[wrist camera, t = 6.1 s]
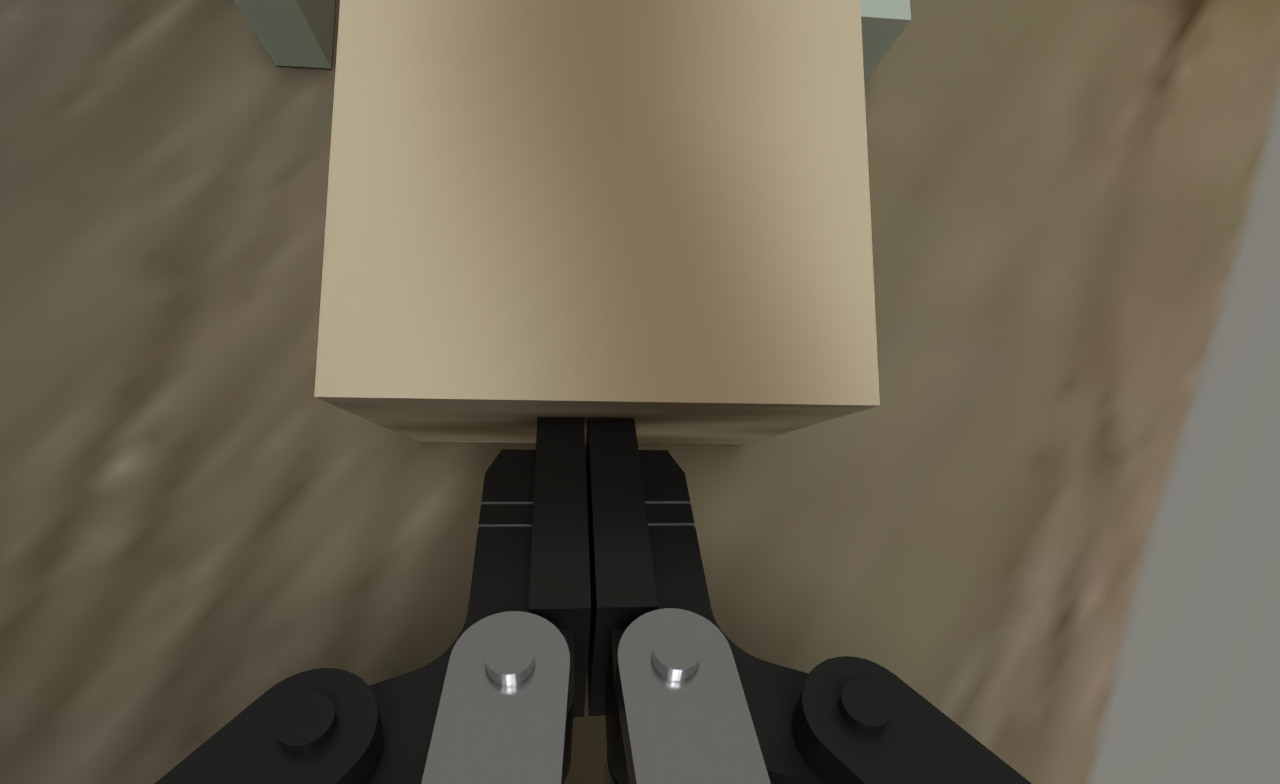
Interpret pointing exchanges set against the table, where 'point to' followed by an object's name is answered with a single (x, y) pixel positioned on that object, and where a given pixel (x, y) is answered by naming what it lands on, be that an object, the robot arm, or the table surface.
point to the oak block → (598, 218)
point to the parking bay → (305, 7)
